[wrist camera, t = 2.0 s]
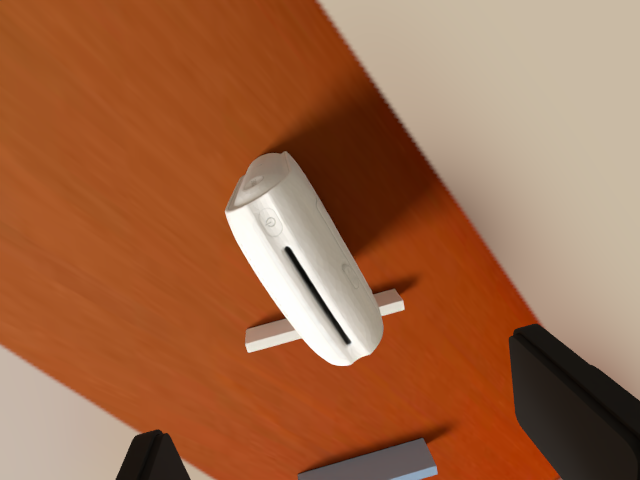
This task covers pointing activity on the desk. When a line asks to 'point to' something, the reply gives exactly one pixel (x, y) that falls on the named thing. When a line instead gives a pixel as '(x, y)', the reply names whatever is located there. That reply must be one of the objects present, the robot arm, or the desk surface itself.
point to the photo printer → (303, 260)
